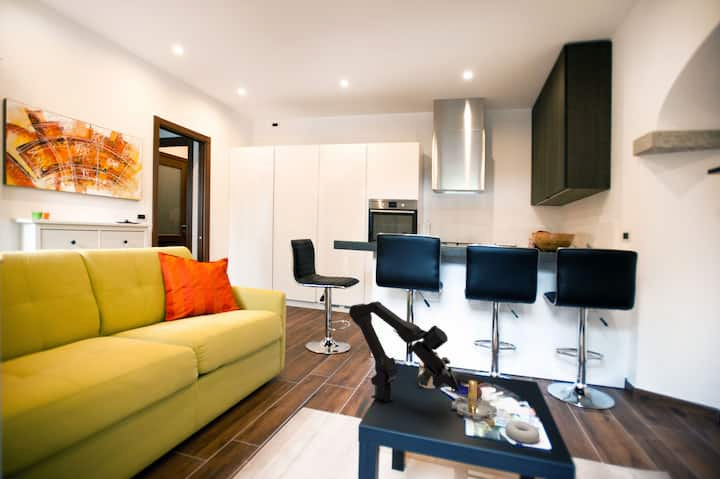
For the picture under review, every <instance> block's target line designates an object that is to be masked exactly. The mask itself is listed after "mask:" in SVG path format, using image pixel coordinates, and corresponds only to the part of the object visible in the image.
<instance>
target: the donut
mask: <svg viewBox="0 0 720 479" xmlns="http://www.w3.org/2000/svg"><path fill="white" fill-rule="evenodd" d="M505 432H506V434H507V435H508V437H510V438H511V439H513V440H514V441H517V442H519V443H522V444H523V443H525V444H533V443H536V442H537V441H538V440H539V439H540V432H539V430H538V429H537V428H536V427H535V426H534V425H533V424H530V423H528V422H525V421H520V420H511V421H509V422H508V423H507V424H506V425H505Z"/></svg>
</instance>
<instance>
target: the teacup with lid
mask: <svg viewBox="0 0 720 479" xmlns="http://www.w3.org/2000/svg"><path fill="white" fill-rule="evenodd" d="M423 364H424V363H423V362H422V361H421V360H420V362H418V368H419V369H418V376H419V375H420V374H422V372H423V370H424V369H425V368H424V367H423ZM418 385H419V386H420V387H422V388H425V389H430V390H431V389H436V388H435V386H434V385H433V377H432V376H431V378H430V380H429V382H428V385H427V387H426V386H424V385H421V384H420V383H419V382H418Z"/></svg>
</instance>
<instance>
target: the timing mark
mask: <svg viewBox="0 0 720 479" xmlns="http://www.w3.org/2000/svg"><path fill="white" fill-rule="evenodd" d="M484 422H485V423H486V424H487V425H489V426H494V425H495V424H496V422H495V421H494V420H493V419H492V418H490V419H489V418H486V419H485V420H484Z"/></svg>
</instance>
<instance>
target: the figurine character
mask: <svg viewBox="0 0 720 479" xmlns="http://www.w3.org/2000/svg"><path fill="white" fill-rule="evenodd" d="M454 377H455V379H456V382H457V384H458V387H459V391H458V392H457V391H455V390H454V389H452V388H451V387H449V386H448V385H446V384H444V385H445V386H446V387H448V388H451V389H450V390H451V391H450V392H452V391H454V392H453V393H459V392H460V394H464V395H468V392H469V380H474V381H477V399H479V400H480V399H481V397H482V396H483V391H482V389H481V387H479V385H481V384H482V383H484V382H485V380H483V379H480V378H475V377H473V376H468V375H466V374H462V373H458V374H457V375H456V374H455V375H454ZM462 383H464V384H468V385H464V384H462Z"/></svg>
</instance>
